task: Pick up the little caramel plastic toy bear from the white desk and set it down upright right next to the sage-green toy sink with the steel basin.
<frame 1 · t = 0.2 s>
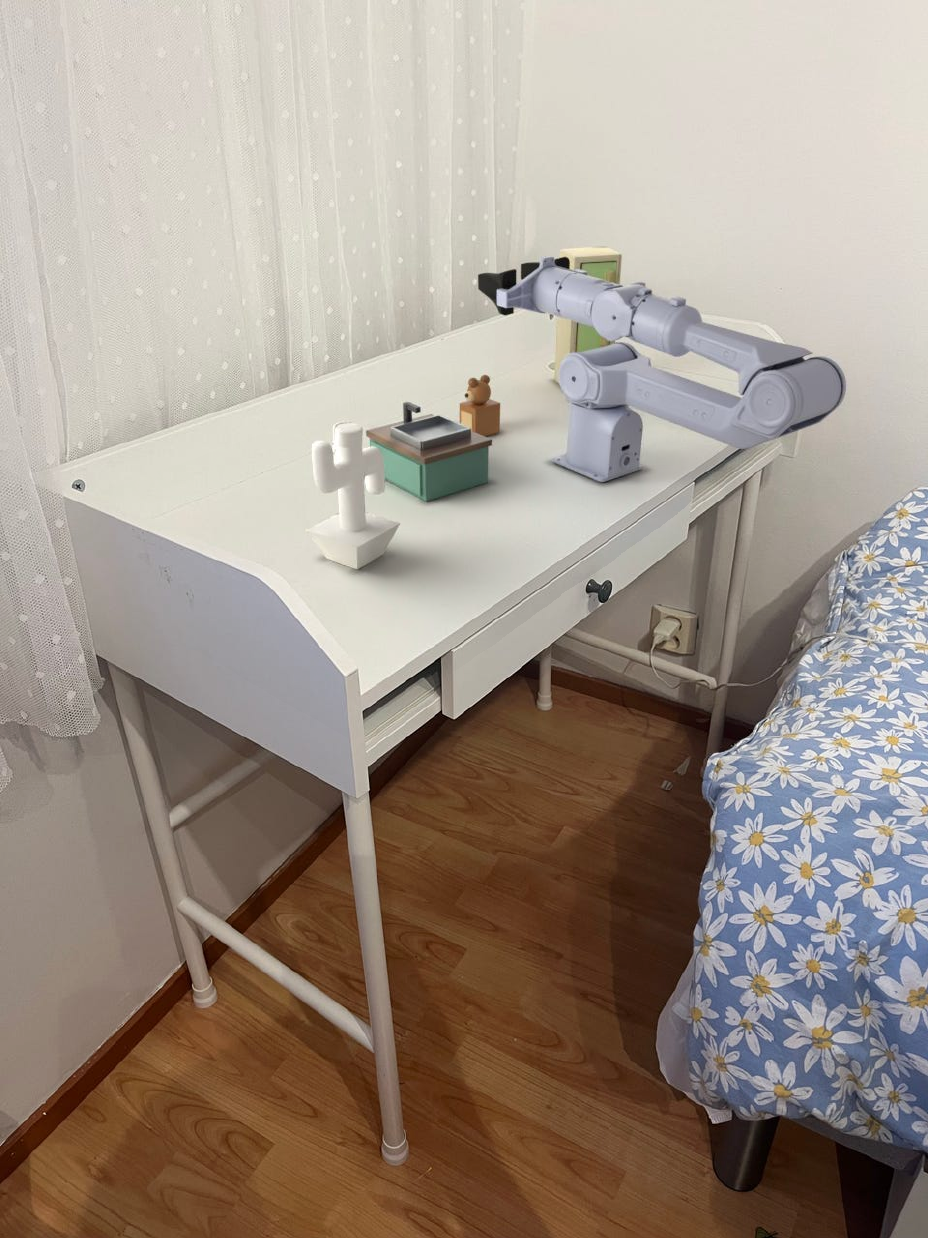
hand: (501, 276, 132), 21 cm above the table, tool horizontal, fingers open, 7 cm apart
toy sink: (429, 477, 126), on the table
toy bear: (479, 432, 141), on the table
toy refrigerator: (582, 386, 161), on the table
figurine: (355, 558, 107), on the table
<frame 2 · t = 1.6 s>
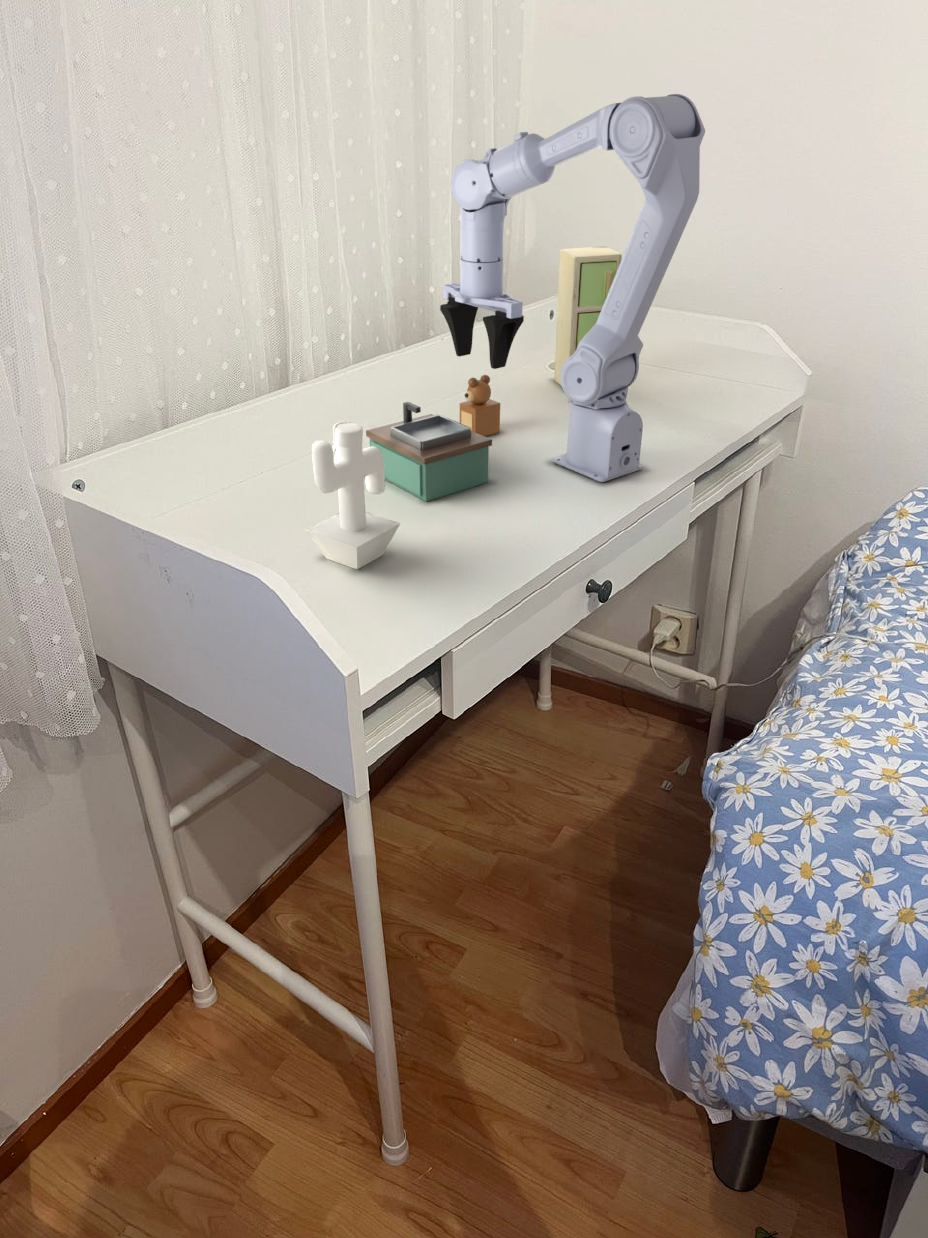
hand: (480, 360, 135), 10 cm above the table, tool pointing down, fingers open, 7 cm apart
nothing on the table moved.
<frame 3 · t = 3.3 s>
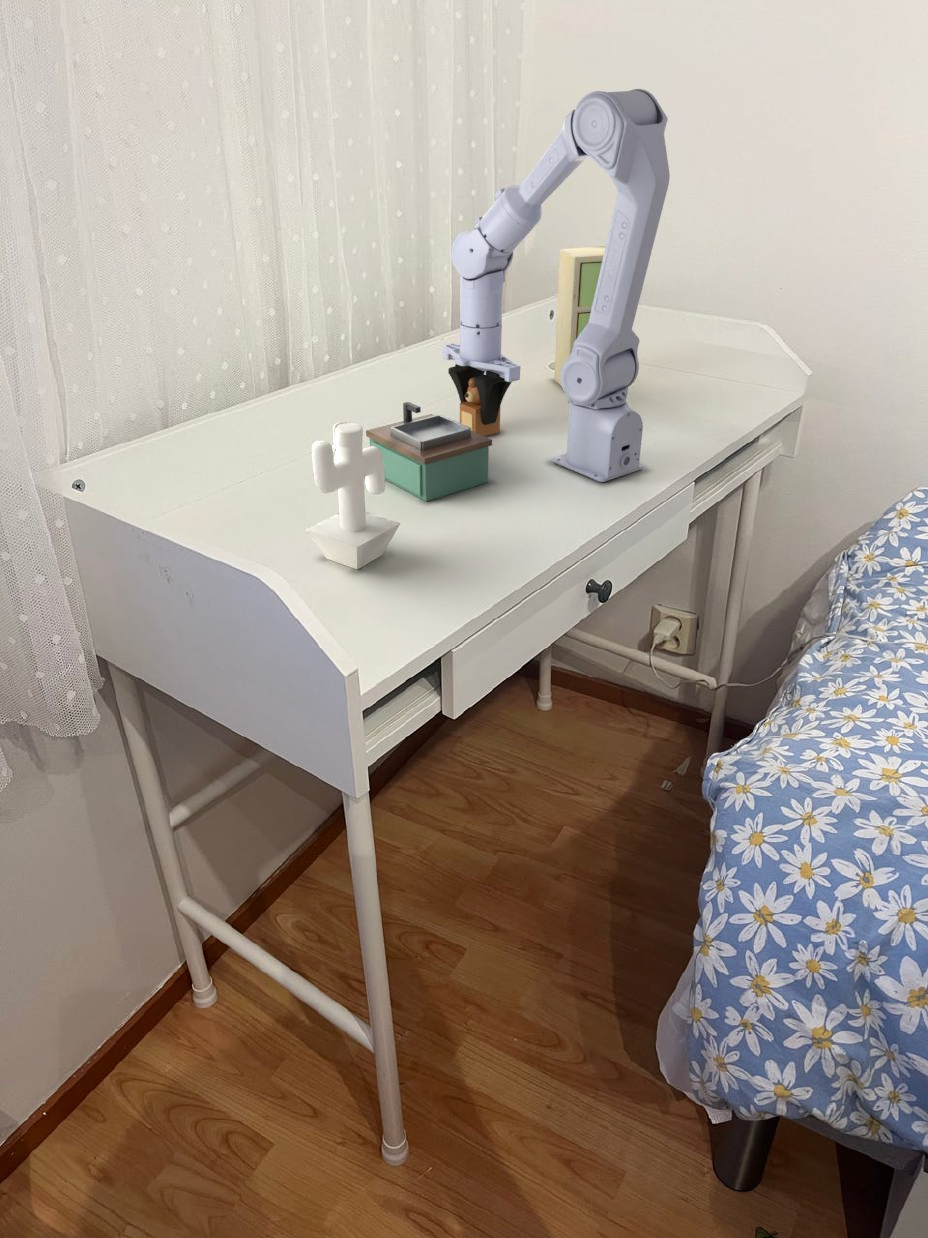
hand: (479, 419, 140), 2 cm above the table, tool pointing down, fingers closed on toy bear, 3 cm apart
toy bear: (479, 432, 141), on the table, touching gripper
everything else where it was.
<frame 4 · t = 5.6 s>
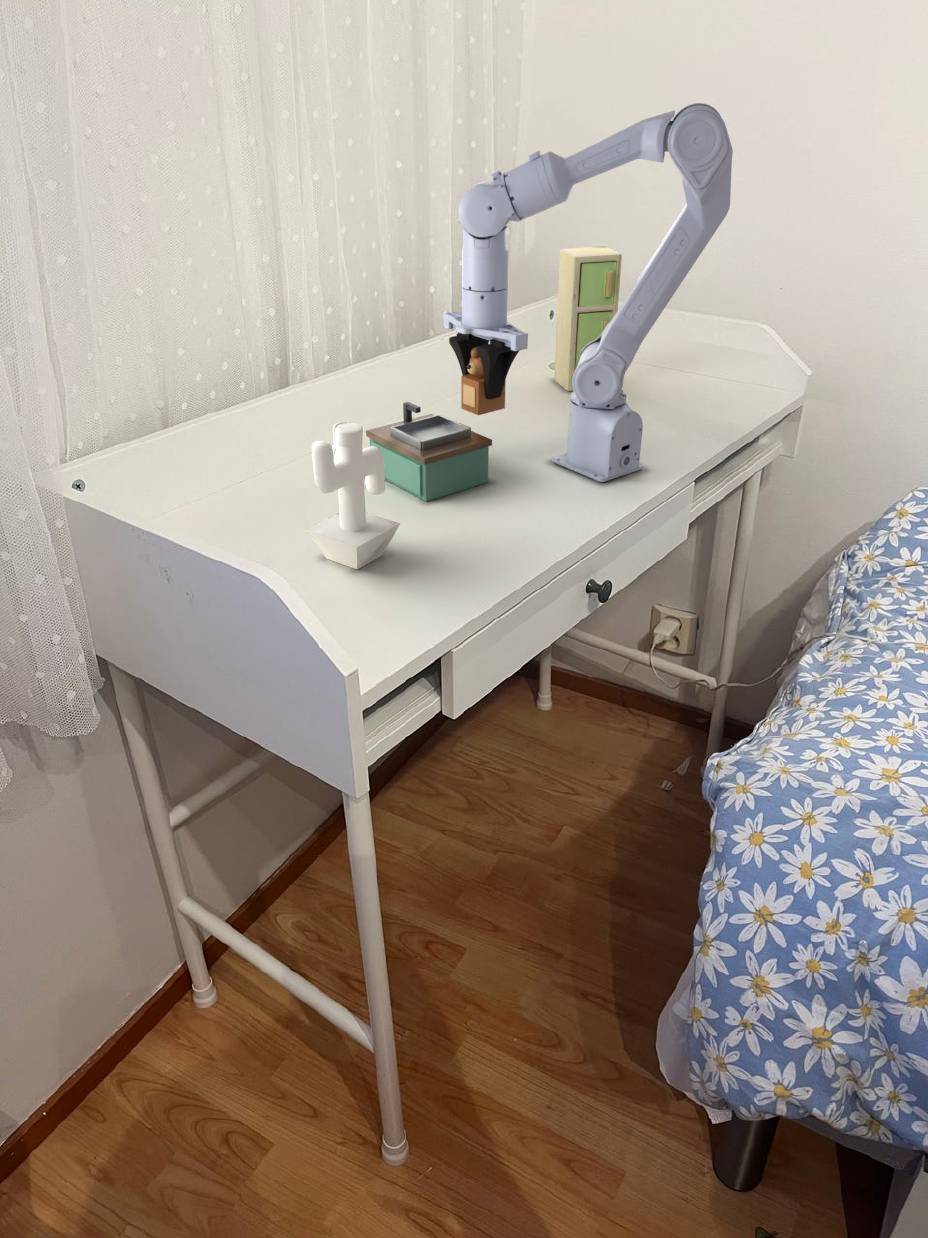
hand: (483, 393, 128), 9 cm above the table, tool pointing down, fingers closed on toy bear, 3 cm apart
toy bear: (483, 408, 129), point 7 cm above the table, touching gripper
everything else where it was.
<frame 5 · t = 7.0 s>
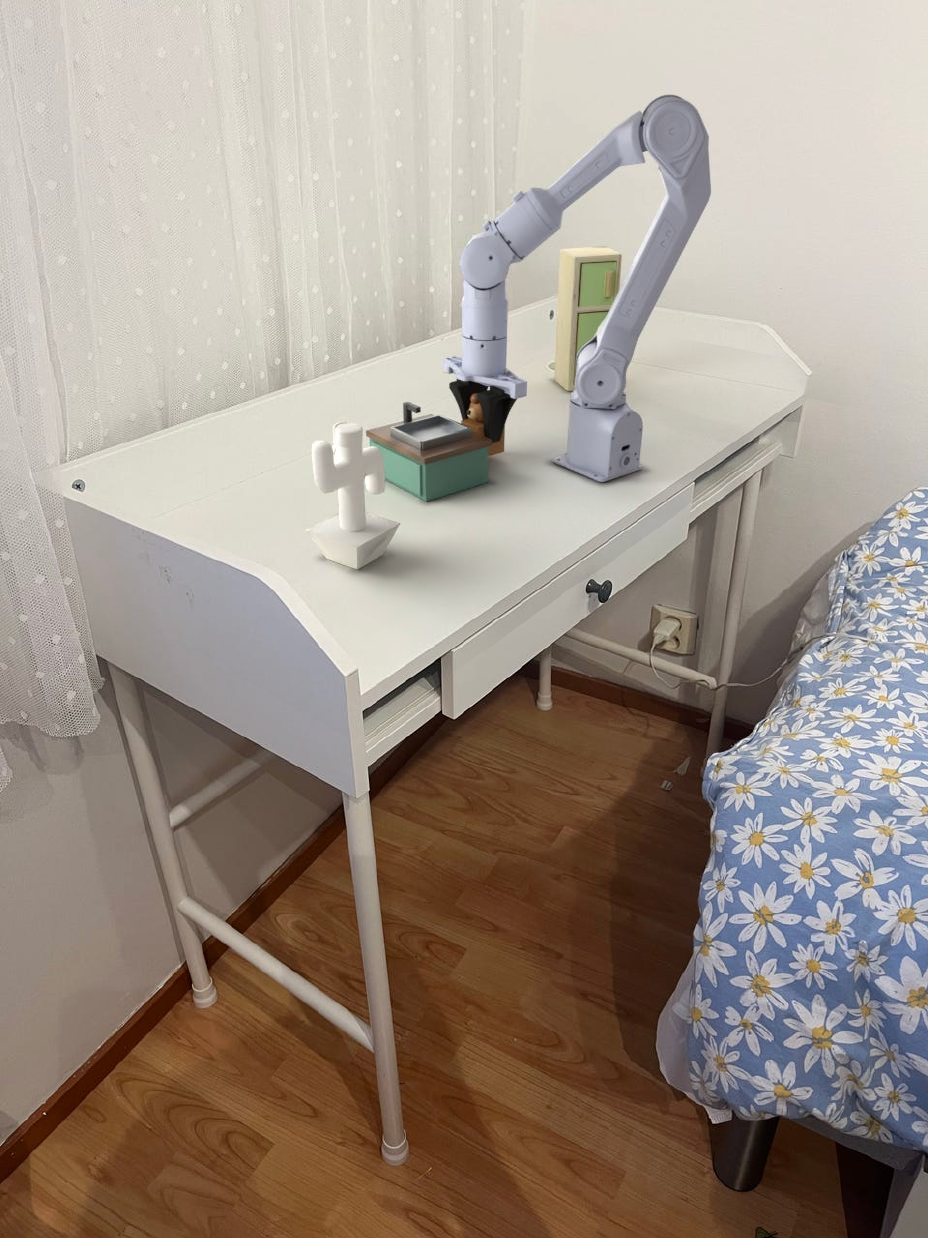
hand: (482, 437, 130), 3 cm above the table, tool pointing down, fingers closed on toy bear, 3 cm apart
toy bear: (482, 451, 131), point 1 cm above the table, touching gripper
everything else where it was.
when the fingers open (2 cm above the table, at t = 7.7 s): toy bear stays where it is, on the table.
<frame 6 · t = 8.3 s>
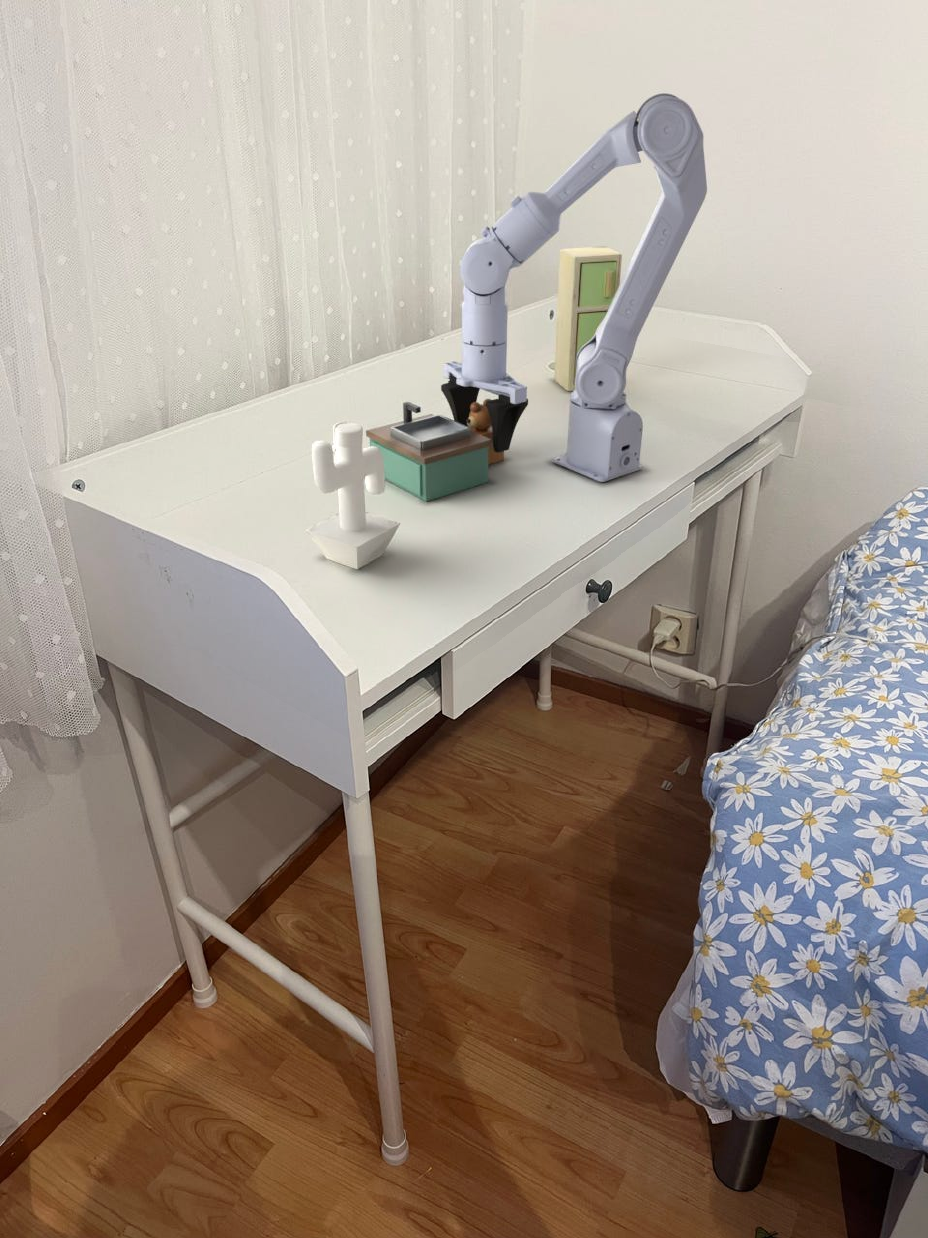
hand: (483, 442, 130), 2 cm above the table, tool pointing down, fingers open, 7 cm apart
toy bear: (482, 459, 132), on the table
everything else where it was.
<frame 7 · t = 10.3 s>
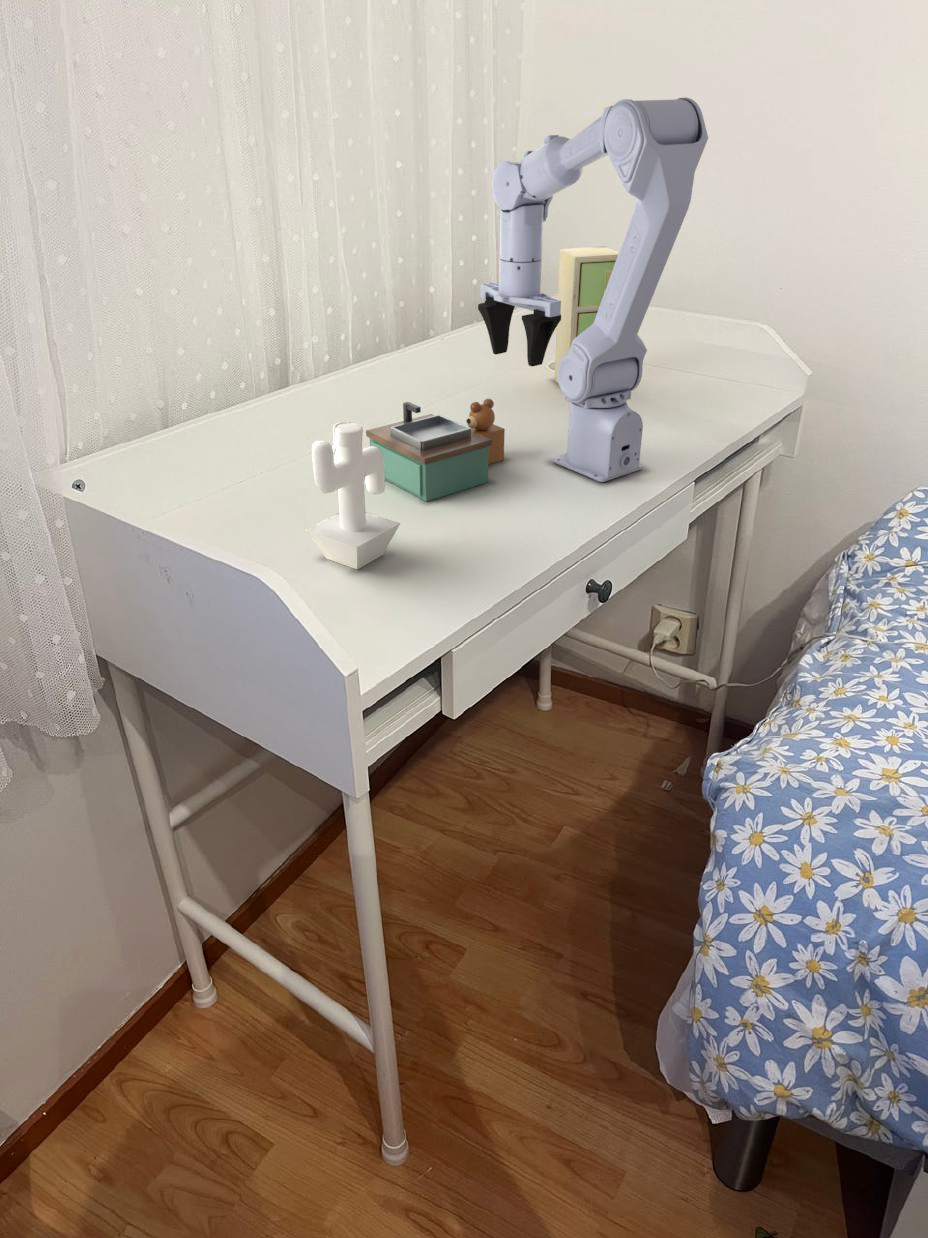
hand: (517, 358, 138), 10 cm above the table, tool pointing down, fingers open, 7 cm apart
nothing on the table moved.
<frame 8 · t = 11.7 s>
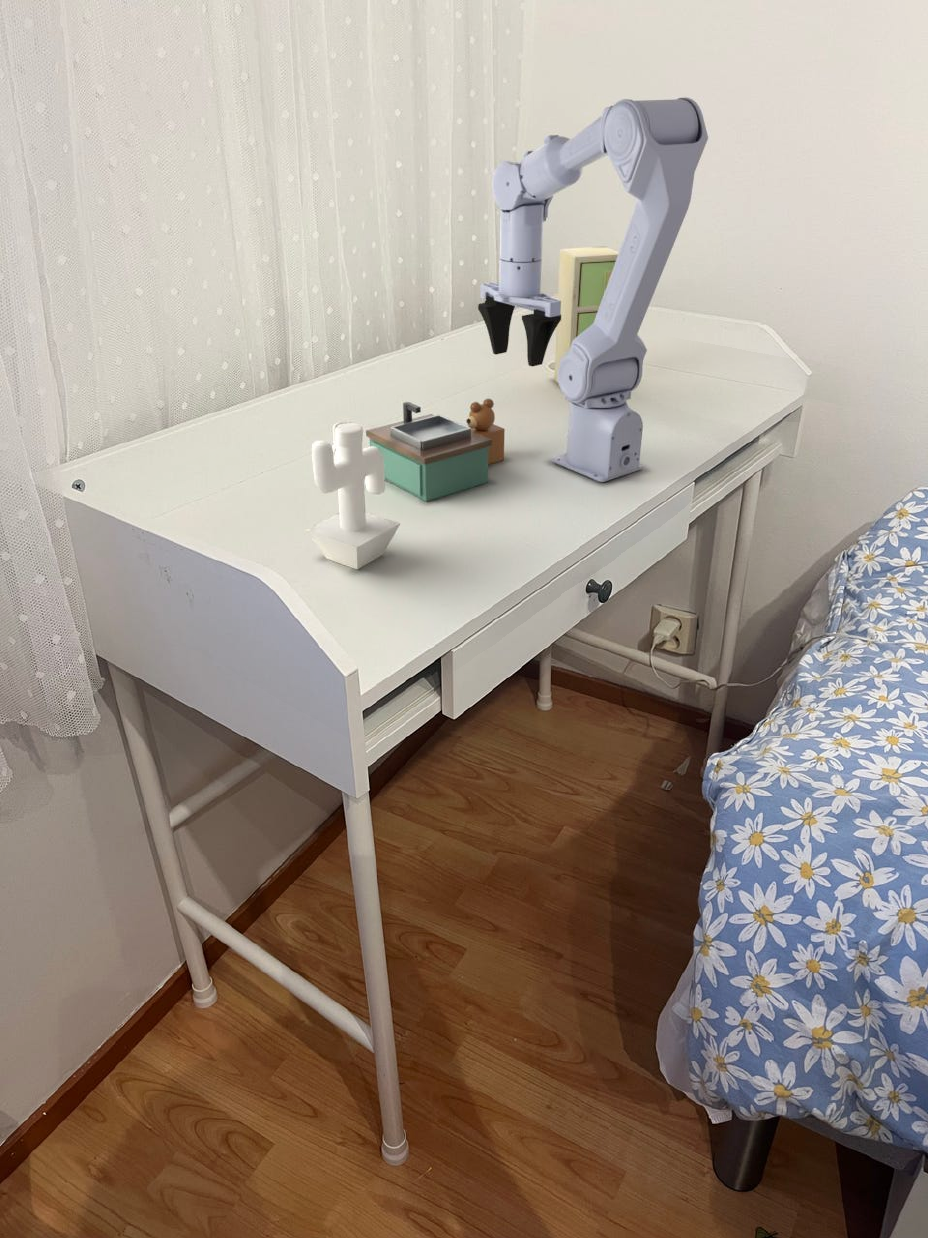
hand: (517, 358, 138), 10 cm above the table, tool pointing down, fingers open, 7 cm apart
nothing on the table moved.
at the end: toy bear inside the target area on the table beside the toy sink (0.6 cm from its centre), on the table; toy bear tilted 0°; the gripper is holding nothing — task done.
